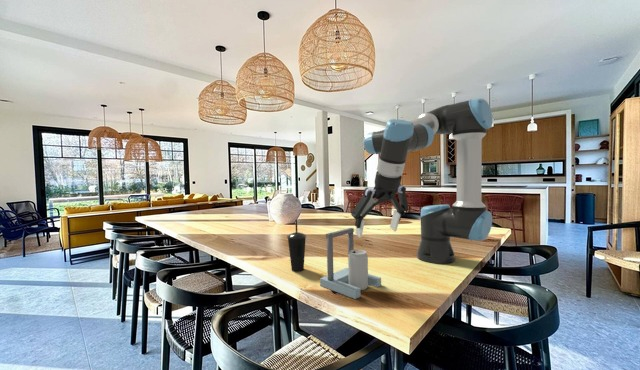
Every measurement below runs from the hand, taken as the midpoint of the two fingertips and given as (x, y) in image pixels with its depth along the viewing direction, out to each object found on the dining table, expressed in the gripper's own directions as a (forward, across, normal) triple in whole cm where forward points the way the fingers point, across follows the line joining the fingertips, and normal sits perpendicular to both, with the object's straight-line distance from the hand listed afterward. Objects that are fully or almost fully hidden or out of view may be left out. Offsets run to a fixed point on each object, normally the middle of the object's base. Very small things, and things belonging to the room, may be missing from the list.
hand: (376, 232), depth 90 cm
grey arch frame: (+18, -8, -4) cm, 20 cm away
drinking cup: (+27, -20, +18) cm, 38 cm away
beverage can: (+17, -7, -6) cm, 19 cm away
